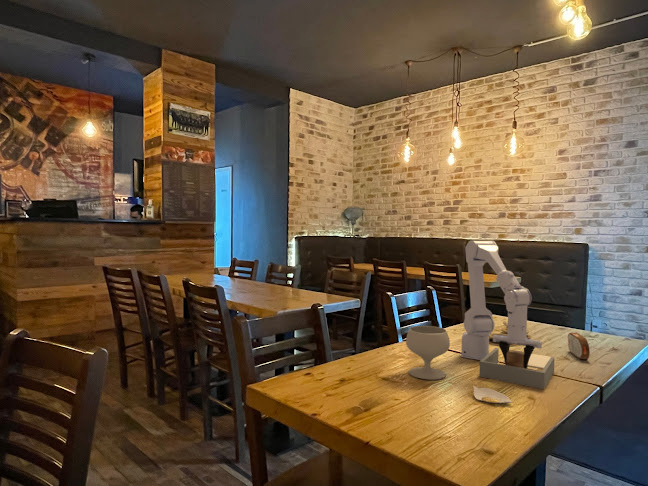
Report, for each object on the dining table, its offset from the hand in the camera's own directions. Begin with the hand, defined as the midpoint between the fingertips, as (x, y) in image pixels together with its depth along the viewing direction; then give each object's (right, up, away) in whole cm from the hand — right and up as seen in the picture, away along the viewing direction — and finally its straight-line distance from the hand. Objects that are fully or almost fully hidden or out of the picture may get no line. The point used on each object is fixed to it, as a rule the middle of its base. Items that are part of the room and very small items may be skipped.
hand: (516, 366), depth 140 cm
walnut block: (0, -1, 0) cm, 1 cm away
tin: (+34, -3, +23) cm, 41 cm away
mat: (+13, -3, +17) cm, 22 cm away
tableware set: (+18, -3, +49) cm, 52 cm away
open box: (+1, -3, +2) cm, 4 cm away
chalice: (-29, -3, +1) cm, 29 cm away
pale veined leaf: (-16, -4, -20) cm, 26 cm away
